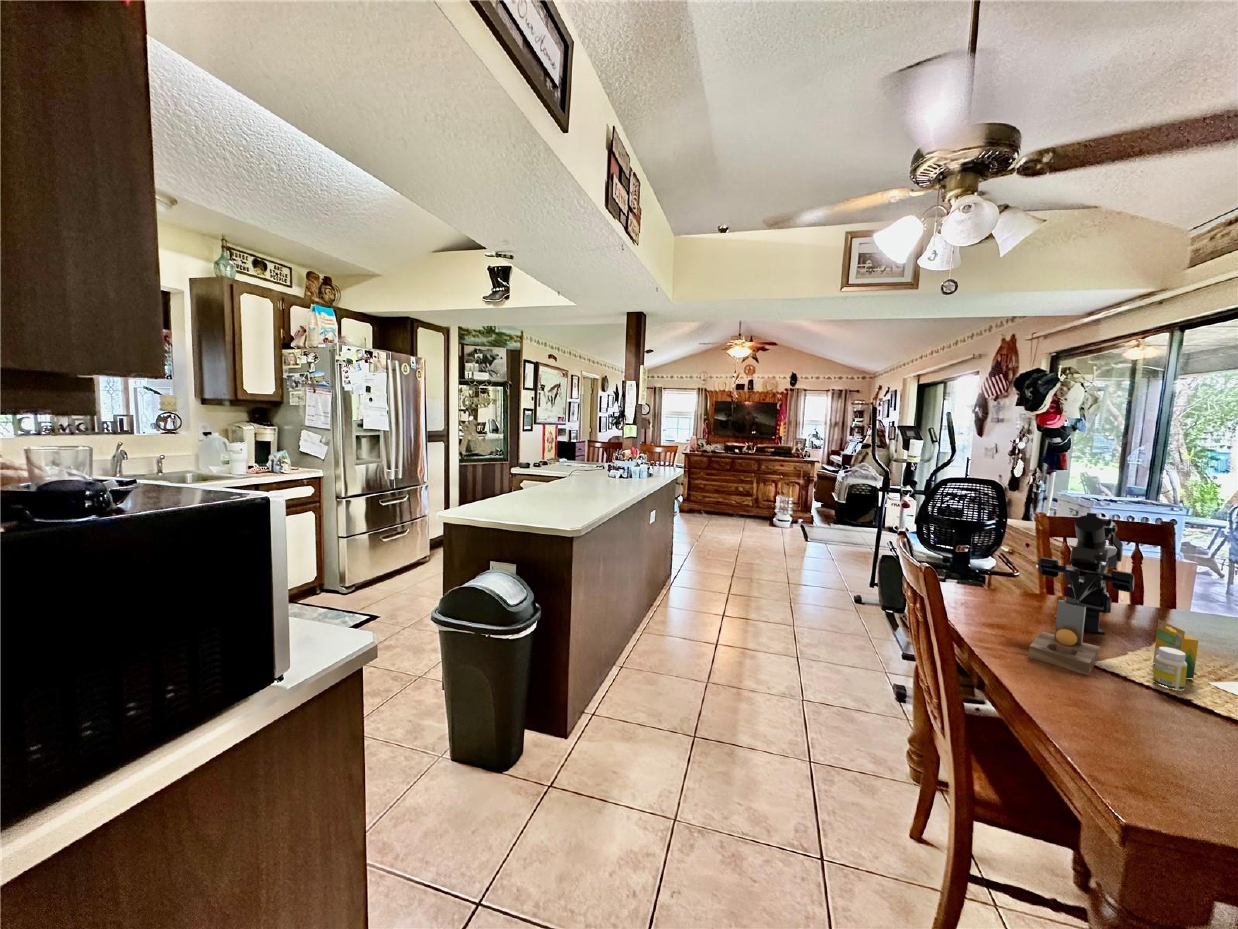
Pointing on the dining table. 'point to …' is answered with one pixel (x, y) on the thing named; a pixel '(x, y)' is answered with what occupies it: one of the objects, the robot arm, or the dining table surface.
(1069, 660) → the board
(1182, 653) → the supplement bottle
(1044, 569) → the robot arm
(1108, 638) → the dining table surface
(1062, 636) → the ball
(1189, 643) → the crayon box
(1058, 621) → the grey piece
